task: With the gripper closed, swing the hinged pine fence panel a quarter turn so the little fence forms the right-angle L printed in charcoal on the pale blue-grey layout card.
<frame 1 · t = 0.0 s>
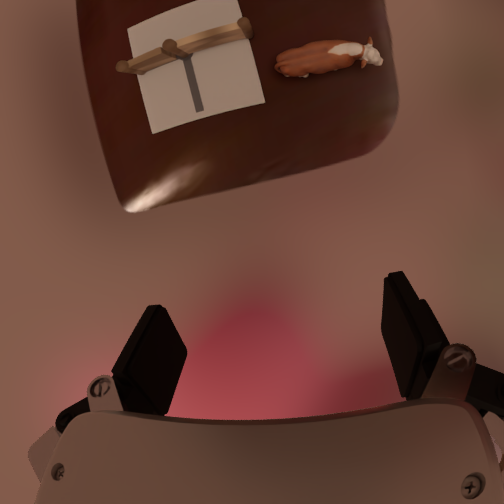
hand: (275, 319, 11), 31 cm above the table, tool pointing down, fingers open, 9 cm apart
bull figurine: (322, 63, 31), on the table
fixed fence section: (160, 63, 32), resting on layout card
fence panel: (210, 37, 27), point 4 cm above the table, hinge at 0.0°
layout card: (190, 58, 32), on the table
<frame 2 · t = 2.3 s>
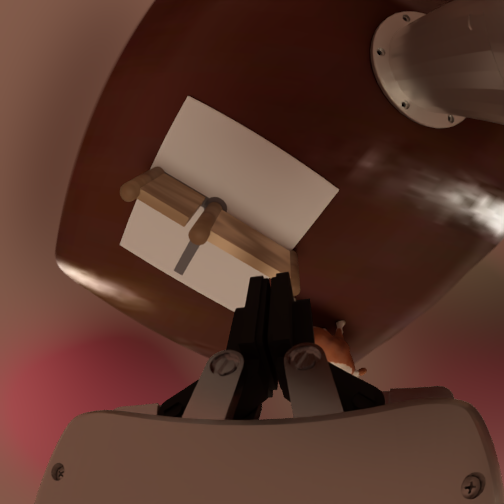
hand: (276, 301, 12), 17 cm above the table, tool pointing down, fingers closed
bull figurine: (318, 320, 35), on the table
fixed fence section: (182, 186, 28), resting on layout card
fence panel: (250, 247, 26), point 4 cm above the table, hinge at 0.0°
layout card: (215, 217, 29), on the table
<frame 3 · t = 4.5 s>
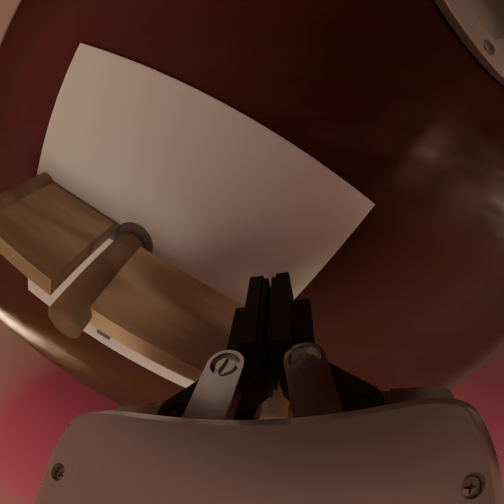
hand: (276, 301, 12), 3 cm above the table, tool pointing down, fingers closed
fixed fence section: (81, 204, 14), resting on layout card
fence panel: (187, 329, 12), point 4 cm above the table, hinge at 0.0°, touching gripper
layout card: (138, 256, 15), on the table
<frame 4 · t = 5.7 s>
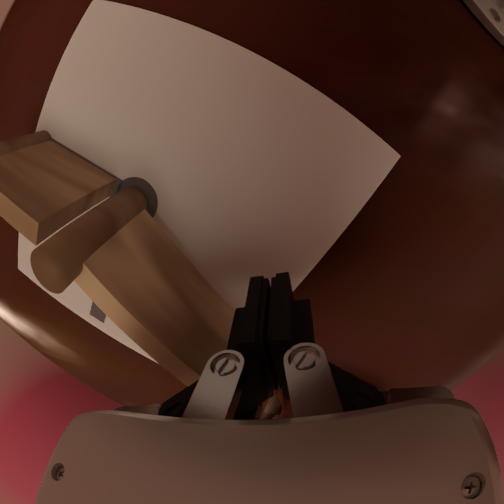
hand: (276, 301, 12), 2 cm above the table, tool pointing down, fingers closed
bull figurine: (337, 390, 19), on the table
fixed fence section: (80, 162, 12), resting on layout card
fence panel: (173, 314, 11), point 4 cm above the table, hinge at 22.0°, touching gripper
layout card: (140, 219, 13), on the table
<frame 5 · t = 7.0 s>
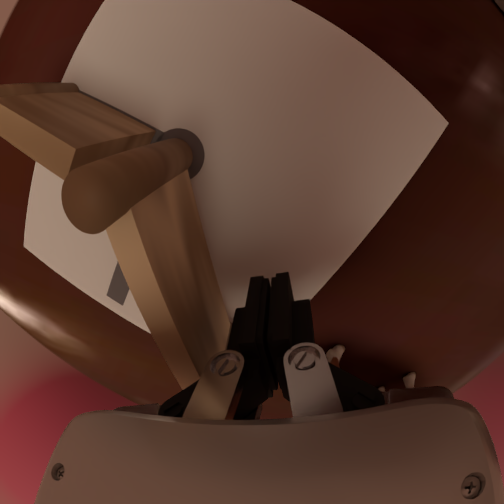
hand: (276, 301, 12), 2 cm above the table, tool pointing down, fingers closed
bull figurine: (374, 376, 18), on the table
fixed fence section: (111, 116, 11), resting on layout card
fence panel: (181, 292, 10), point 4 cm above the table, hinge at 47.3°, touching gripper
layout card: (179, 178, 12), on the table
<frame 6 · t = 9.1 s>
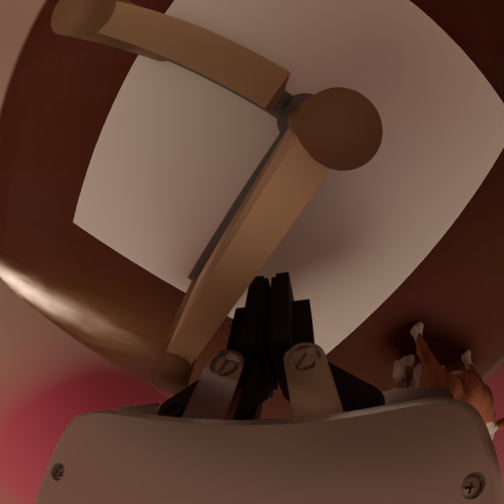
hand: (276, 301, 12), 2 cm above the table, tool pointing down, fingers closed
bull figurine: (438, 354, 17), on the table
fixed fence section: (222, 71, 10), resting on layout card
fence panel: (240, 243, 9), point 4 cm above the table, hinge at 87.8°, touching gripper
layout card: (302, 145, 11), on the table
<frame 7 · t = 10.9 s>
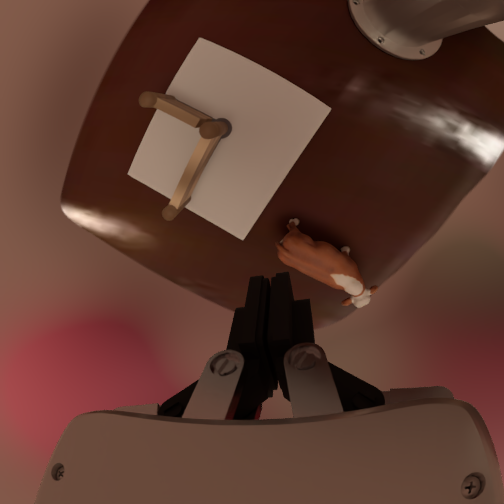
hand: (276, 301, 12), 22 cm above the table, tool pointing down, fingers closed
bull figurine: (322, 246, 35), on the table
fixed fence section: (191, 112, 29), resting on layout card
fence panel: (195, 168, 28), point 4 cm above the table, hinge at 88.0°
layout card: (221, 137, 30), on the table
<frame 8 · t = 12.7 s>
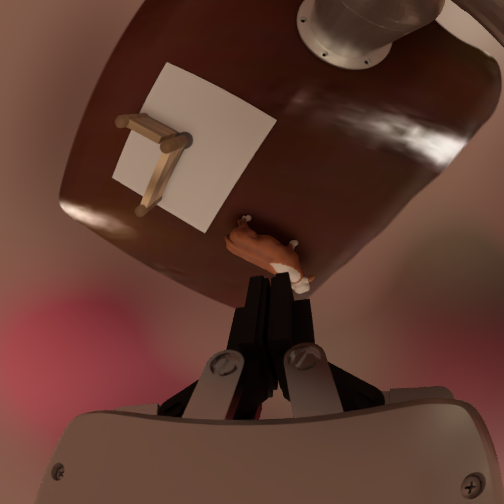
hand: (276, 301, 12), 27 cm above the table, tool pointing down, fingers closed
bull figurine: (273, 239, 41), on the table
fixed fence section: (161, 126, 34), resting on layout card
fence panel: (161, 174, 34), point 4 cm above the table, hinge at 88.0°
layout card: (185, 147, 36), on the table
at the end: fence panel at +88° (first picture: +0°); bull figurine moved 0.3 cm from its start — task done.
